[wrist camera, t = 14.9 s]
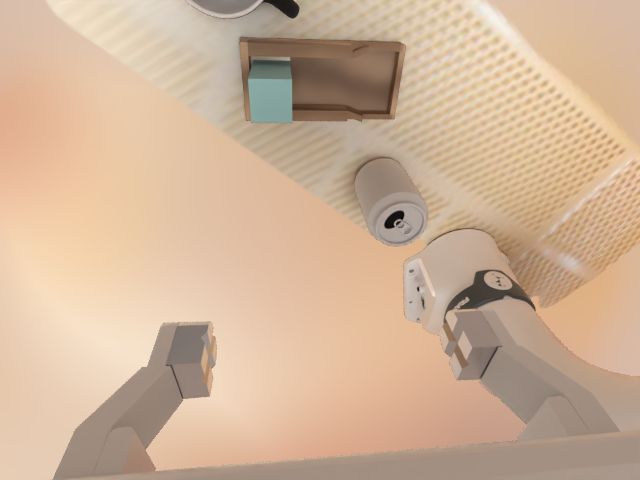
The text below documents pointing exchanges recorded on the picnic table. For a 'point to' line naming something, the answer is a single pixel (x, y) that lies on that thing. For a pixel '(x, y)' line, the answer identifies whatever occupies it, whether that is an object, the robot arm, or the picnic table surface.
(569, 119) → the picnic table surface
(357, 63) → the brown wooden tray
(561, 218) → the picnic table surface
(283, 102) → the block
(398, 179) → the can
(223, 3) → the mug
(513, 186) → the picnic table surface
